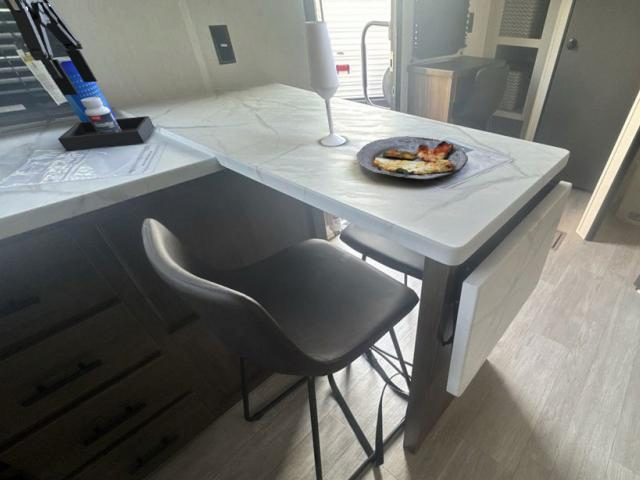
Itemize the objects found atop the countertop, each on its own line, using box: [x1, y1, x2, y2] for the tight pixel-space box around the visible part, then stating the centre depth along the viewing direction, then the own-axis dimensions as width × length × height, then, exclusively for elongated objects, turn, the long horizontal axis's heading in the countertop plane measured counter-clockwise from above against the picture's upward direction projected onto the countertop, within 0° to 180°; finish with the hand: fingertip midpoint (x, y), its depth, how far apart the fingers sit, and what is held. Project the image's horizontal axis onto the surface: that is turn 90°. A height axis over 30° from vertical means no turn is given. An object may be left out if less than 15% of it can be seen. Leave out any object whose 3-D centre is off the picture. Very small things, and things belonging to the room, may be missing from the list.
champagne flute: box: [304, 20, 347, 147], centre depth 75 cm, size 7×7×24 cm
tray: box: [57, 115, 156, 152], centre depth 85 cm, size 18×14×3 cm
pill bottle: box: [81, 97, 122, 134], centre depth 83 cm, size 5×5×9 cm
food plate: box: [356, 135, 469, 180], centre depth 72 cm, size 25×23×4 cm
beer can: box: [54, 56, 117, 122], centre depth 88 cm, size 8×8×16 cm
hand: (81, 87), depth 78 cm, fingers open, 13 cm apart
